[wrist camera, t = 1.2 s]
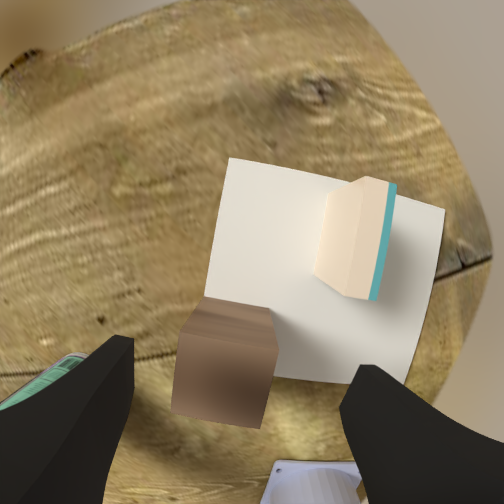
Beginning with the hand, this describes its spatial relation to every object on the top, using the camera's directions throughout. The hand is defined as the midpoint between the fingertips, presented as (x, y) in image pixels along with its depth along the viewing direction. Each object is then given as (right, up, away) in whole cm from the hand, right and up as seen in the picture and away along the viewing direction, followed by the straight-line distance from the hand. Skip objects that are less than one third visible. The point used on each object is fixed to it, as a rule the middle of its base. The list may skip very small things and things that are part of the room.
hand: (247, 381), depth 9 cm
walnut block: (-1, -1, +10) cm, 10 cm away
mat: (+5, +2, +10) cm, 12 cm away
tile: (+5, +5, +10) cm, 12 cm away
